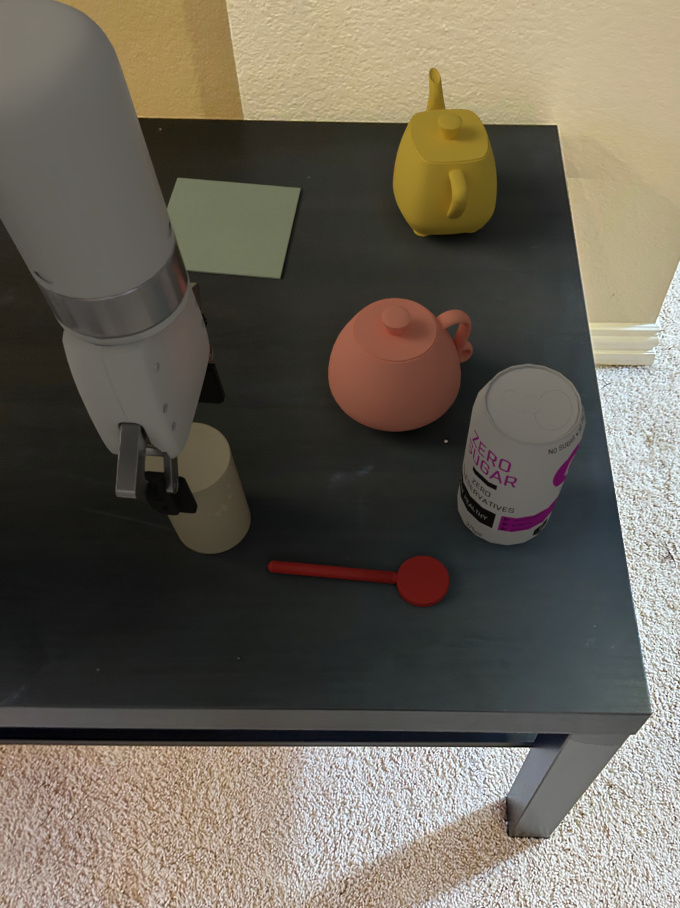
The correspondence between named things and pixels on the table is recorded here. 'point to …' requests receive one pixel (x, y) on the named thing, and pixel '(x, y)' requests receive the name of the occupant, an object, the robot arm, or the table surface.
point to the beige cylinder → (209, 492)
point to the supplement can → (518, 452)
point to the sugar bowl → (398, 364)
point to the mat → (233, 226)
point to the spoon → (385, 577)
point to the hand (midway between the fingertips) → (191, 451)
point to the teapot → (445, 169)
